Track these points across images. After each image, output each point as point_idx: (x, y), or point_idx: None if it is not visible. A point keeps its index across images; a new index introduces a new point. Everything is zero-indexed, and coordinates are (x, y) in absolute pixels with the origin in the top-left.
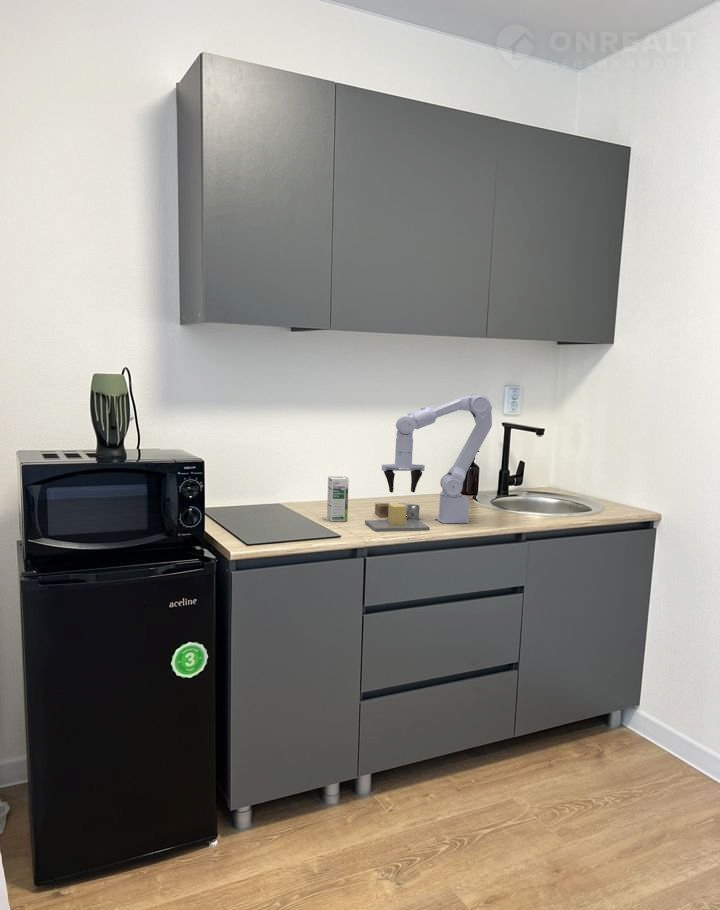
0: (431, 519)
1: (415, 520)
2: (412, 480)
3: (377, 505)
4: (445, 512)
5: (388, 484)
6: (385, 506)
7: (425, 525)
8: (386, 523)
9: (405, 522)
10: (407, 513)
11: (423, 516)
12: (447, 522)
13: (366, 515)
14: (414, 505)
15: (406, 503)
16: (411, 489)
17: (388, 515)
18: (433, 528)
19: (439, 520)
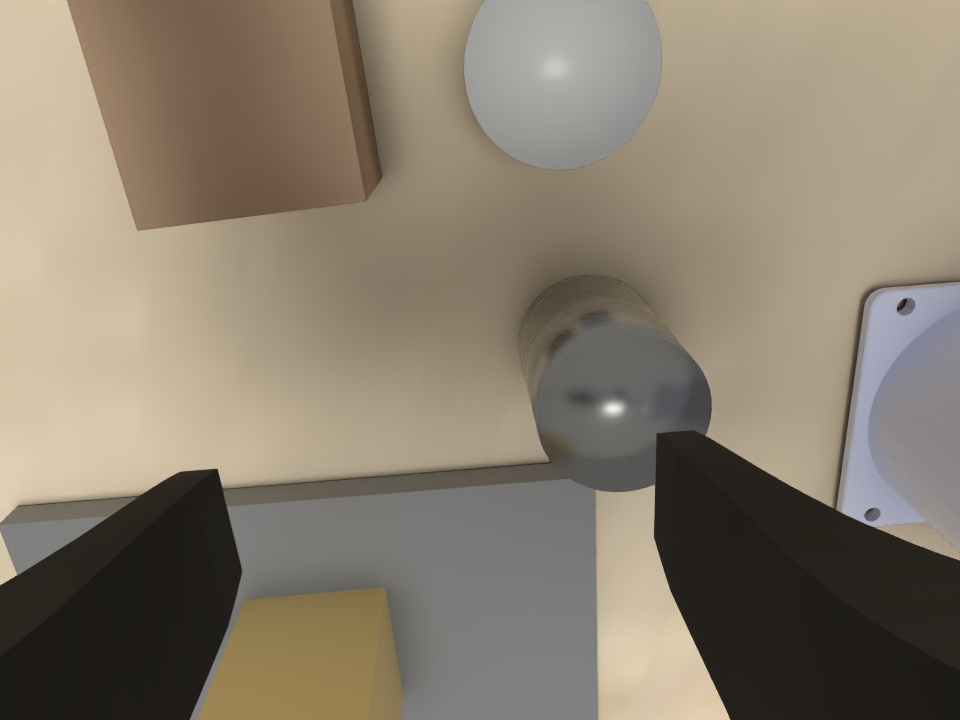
0: (815, 316)
1: (559, 525)
2: (766, 627)
3: (103, 101)
4: (950, 542)
5: (73, 554)
6: (229, 217)
7: (586, 704)
8: (224, 646)
9: (399, 712)
10: (526, 366)
11: (795, 140)
12: (889, 521)
13: (18, 72)
14: (635, 420)
15: (631, 11)
16: (669, 481)
17: (225, 663)
18: (658, 673)
19: (848, 450)
